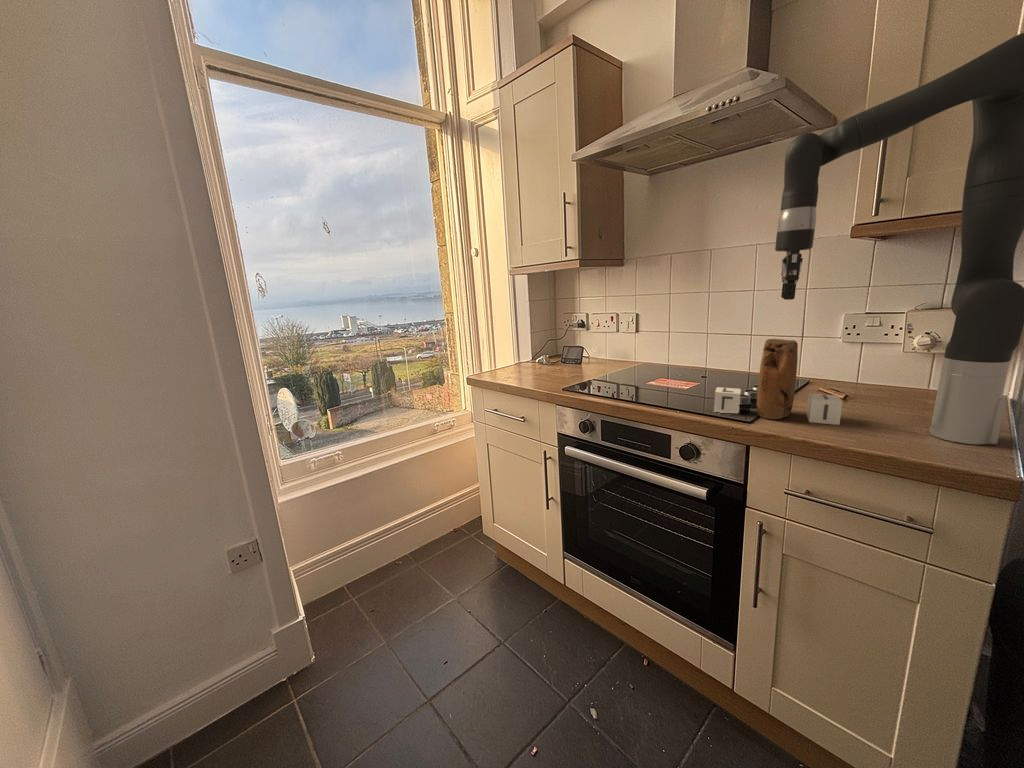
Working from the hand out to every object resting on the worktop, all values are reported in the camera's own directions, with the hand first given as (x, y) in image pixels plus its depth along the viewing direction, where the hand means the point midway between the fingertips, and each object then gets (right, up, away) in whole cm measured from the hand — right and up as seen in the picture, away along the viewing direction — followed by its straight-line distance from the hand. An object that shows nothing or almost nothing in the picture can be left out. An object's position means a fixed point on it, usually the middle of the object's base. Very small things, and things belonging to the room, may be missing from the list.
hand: (787, 298), depth 102 cm
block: (+1, -30, +7) cm, 31 cm away
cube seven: (-9, -29, +13) cm, 32 cm away
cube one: (+10, -30, +2) cm, 32 cm away
